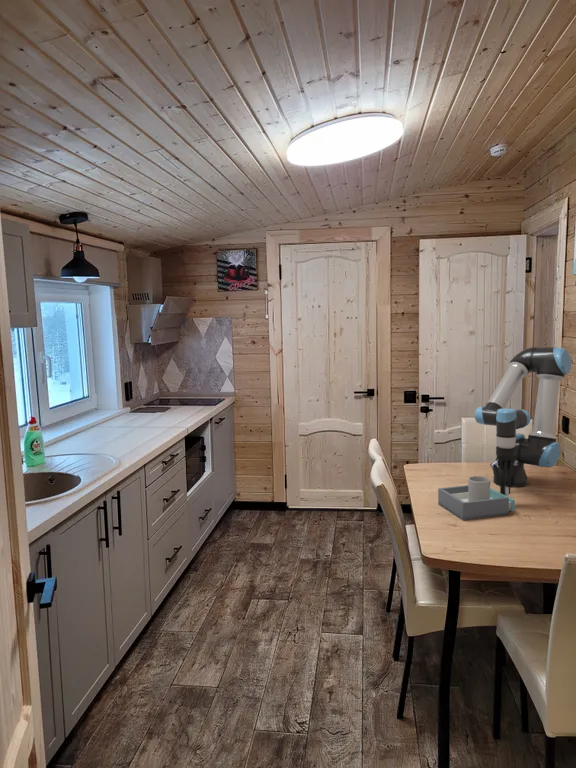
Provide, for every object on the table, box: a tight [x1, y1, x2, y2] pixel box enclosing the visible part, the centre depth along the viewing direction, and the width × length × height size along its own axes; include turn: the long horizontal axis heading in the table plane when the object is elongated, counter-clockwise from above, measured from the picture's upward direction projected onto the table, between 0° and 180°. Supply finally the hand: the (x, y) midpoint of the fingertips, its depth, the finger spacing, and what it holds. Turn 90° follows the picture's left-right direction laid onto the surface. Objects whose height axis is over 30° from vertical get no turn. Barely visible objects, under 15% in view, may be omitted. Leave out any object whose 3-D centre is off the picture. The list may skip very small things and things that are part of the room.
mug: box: [467, 475, 491, 502], centre depth 228 cm, size 12×8×11 cm
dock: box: [437, 484, 510, 521], centre depth 228 cm, size 20×20×7 cm
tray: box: [452, 487, 516, 512], centre depth 228 cm, size 20×19×4 cm
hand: (505, 501), depth 231 cm, fingers closed
